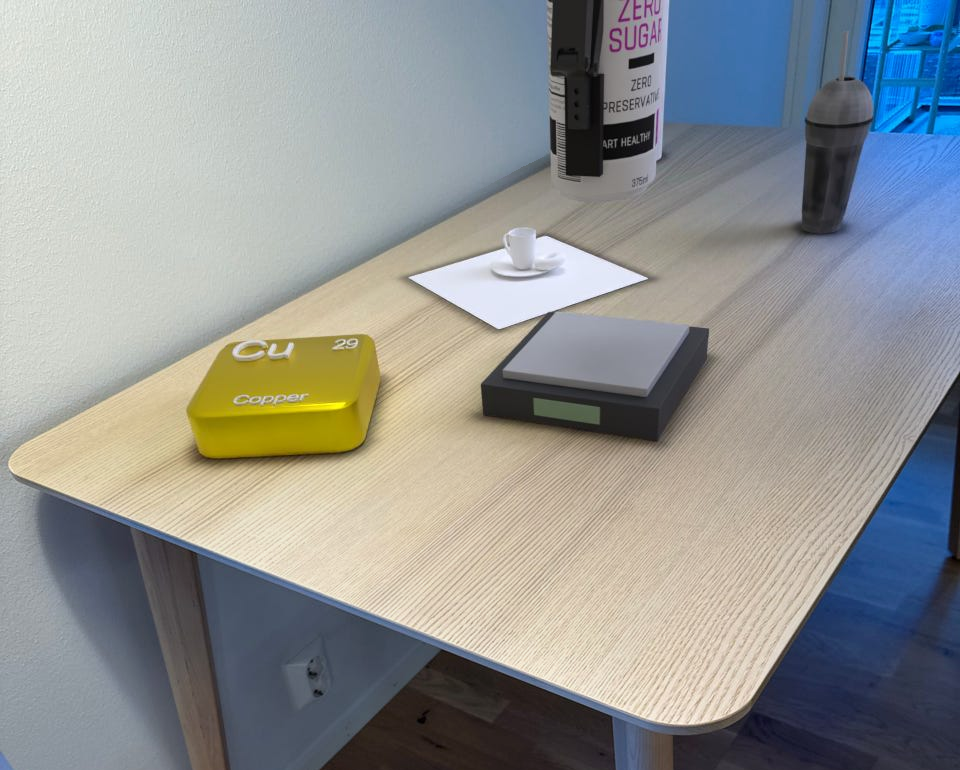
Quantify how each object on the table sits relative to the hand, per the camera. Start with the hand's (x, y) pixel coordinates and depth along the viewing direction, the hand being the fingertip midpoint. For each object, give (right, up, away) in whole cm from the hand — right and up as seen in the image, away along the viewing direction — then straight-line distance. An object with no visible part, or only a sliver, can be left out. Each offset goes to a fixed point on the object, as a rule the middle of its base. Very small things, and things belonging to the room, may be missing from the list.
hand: (603, 157), depth 71 cm
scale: (+1, -15, +12) cm, 19 cm away
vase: (+12, +36, +67) cm, 77 cm away
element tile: (-27, -17, +13) cm, 34 cm away
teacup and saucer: (-5, +4, +33) cm, 34 cm away
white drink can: (0, -2, +2) cm, 2 cm away
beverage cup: (+31, +12, +38) cm, 50 cm away
